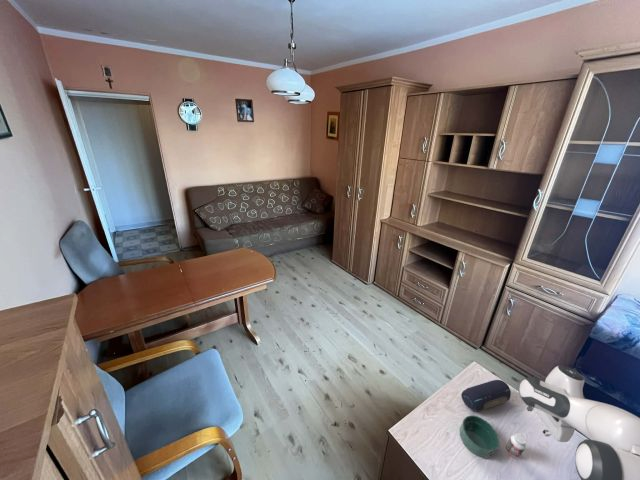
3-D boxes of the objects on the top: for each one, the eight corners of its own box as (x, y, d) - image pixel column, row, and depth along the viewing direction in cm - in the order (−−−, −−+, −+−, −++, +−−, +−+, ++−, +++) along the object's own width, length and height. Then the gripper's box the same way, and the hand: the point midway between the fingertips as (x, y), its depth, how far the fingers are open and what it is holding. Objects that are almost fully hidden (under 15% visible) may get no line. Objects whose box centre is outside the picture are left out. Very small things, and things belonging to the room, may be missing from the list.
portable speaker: (471, 417, 126) (478, 404, 122) (456, 398, 135) (462, 385, 131) (510, 404, 134) (518, 391, 129) (493, 386, 142) (500, 373, 138)
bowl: (500, 460, 111) (505, 452, 109) (467, 456, 112) (471, 448, 109) (484, 424, 124) (488, 417, 121) (454, 421, 124) (457, 414, 122)
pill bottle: (507, 456, 113) (516, 443, 108) (502, 442, 117) (511, 429, 113) (521, 459, 112) (531, 447, 107) (516, 445, 116) (524, 433, 112)
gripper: (524, 375, 109) (512, 396, 115) (565, 428, 91) (548, 450, 97) (539, 375, 110) (526, 396, 116) (583, 428, 91) (565, 450, 97)
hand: (536, 421), depth 106 cm, fingers open, 8 cm apart
